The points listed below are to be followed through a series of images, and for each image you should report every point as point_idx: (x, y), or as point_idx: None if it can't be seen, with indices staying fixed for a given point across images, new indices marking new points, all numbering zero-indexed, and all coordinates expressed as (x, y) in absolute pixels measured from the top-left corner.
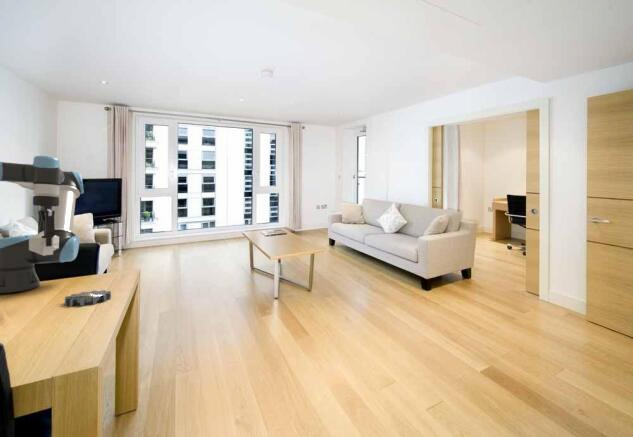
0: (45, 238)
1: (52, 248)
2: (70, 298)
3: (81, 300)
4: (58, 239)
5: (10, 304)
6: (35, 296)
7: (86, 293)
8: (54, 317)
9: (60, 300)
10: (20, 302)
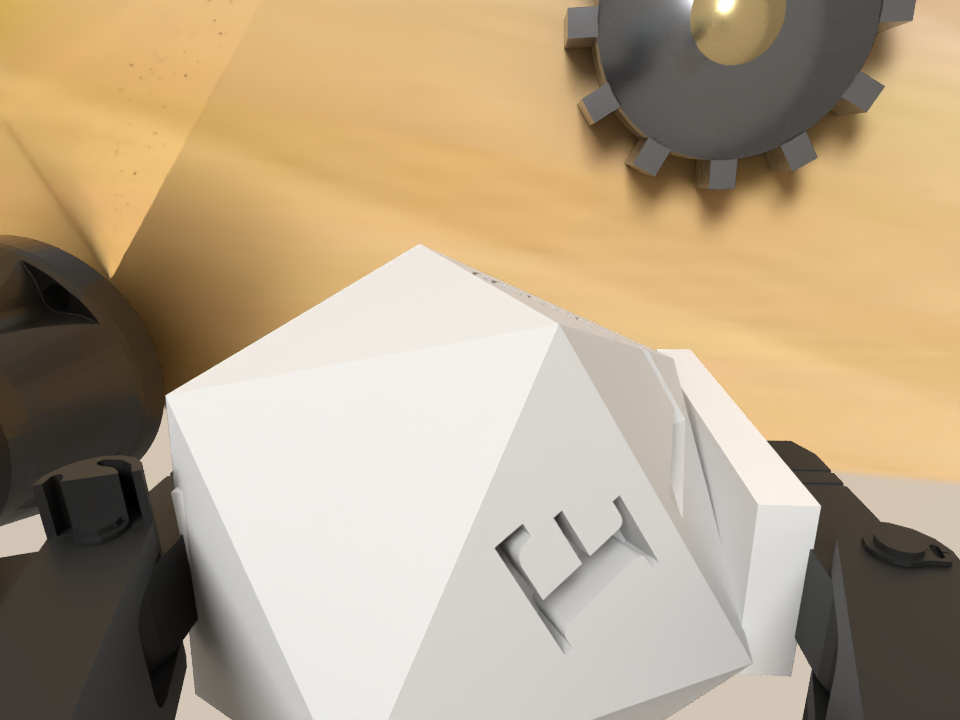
0: (794, 639)
1: (719, 394)
2: (744, 157)
3: (868, 105)
4: (562, 320)
5: None
6: (222, 275)
7: (661, 15)
8: None
9: (507, 178)
10: None
